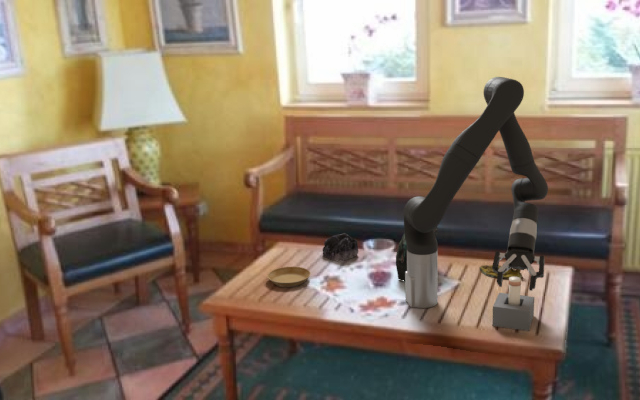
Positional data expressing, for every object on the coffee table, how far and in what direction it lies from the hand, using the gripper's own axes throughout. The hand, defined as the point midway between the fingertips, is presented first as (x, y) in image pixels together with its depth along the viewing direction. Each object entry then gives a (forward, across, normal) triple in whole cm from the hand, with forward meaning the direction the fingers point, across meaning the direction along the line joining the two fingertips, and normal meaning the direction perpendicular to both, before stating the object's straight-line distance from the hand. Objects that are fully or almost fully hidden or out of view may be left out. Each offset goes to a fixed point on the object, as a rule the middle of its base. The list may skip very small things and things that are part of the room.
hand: (515, 287), depth 189 cm
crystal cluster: (-16, -68, +30) cm, 77 cm away
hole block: (+8, 0, +6) cm, 10 cm away
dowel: (+7, 0, +5) cm, 9 cm away
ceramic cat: (-11, -36, +25) cm, 45 cm away
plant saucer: (+4, -76, +11) cm, 77 cm away
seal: (-16, -10, +31) cm, 36 cm away
